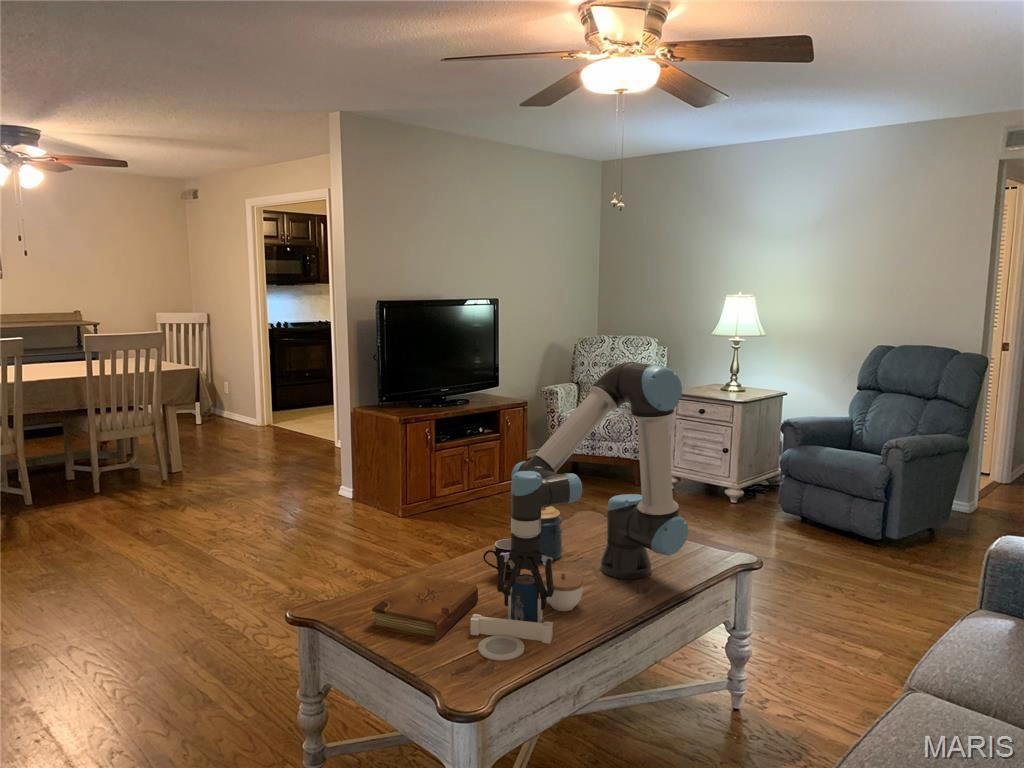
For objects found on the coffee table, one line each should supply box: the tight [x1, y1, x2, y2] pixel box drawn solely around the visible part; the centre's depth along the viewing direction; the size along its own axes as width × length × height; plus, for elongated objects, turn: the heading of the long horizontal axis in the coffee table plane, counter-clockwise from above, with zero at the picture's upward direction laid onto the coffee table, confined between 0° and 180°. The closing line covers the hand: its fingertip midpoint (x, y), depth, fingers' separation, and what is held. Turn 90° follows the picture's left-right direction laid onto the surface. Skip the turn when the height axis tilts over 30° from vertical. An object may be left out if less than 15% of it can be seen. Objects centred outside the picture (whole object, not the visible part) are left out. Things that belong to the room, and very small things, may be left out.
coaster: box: [477, 635, 525, 662], centre depth 171 cm, size 11×11×1 cm
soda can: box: [511, 573, 540, 623], centre depth 183 cm, size 7×7×12 cm
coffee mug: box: [482, 538, 522, 581], centre depth 213 cm, size 12×9×10 cm
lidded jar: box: [542, 570, 584, 612], centre depth 193 cm, size 11×11×9 cm
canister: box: [539, 506, 564, 563], centre depth 229 cm, size 13×13×18 cm
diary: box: [371, 573, 479, 642], centre depth 188 cm, size 23×19×6 cm
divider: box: [470, 613, 554, 645], centre depth 176 cm, size 20×3×4 cm, turn 78°
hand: (525, 619), depth 183 cm, fingers closed on soda can, 7 cm apart
